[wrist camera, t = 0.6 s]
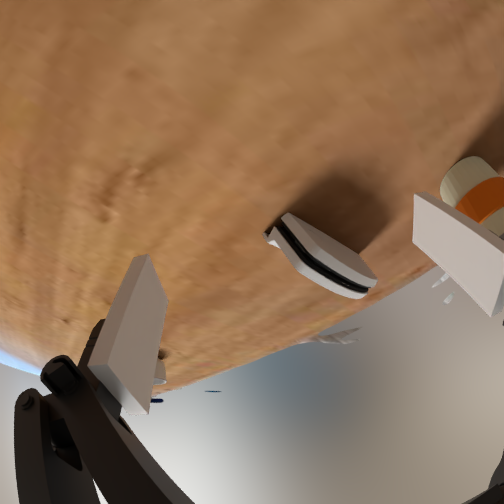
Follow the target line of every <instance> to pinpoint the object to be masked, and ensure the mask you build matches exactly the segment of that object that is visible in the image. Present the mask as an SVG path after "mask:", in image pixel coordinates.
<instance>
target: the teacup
mask: <svg viewBox="0 0 504 504" xmlns="http://www.w3.org/2000/svg"><path fill="white" fill-rule="evenodd" d="M166 382H167V381H166V371H165V365H164V363H163V362H162V361H161V360H160V359H159V358H158V357H157V363H156V369H155V375H154V381H153V385H160V384H164V383H166Z"/></svg>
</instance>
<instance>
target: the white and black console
mask: <svg viewBox="0 0 504 504" xmlns="http://www.w3.org/2000/svg"><path fill="white" fill-rule="evenodd" d="M281 219H282V220H283V221H282V225H283V226H284V227H285V228H286V229H284V228H282V227H280V226H278V228H276V227H274V228H273V230H272V231H271V233H270V235H269V234H267V233H265V232H264V233H263V234H262V235H263V237H264V239H265V240H266V242H267V243H270V244H272V245H274V246H276V247H278V248H280V249H281V250H282V251H283V253H284V254H285V255H286V257H287V258H288V259H289V261H290V262H291V264H292V265H293V266H294V268H295V269H296V270H297V271H299V272H300V273H301V274H303V275H304V276H306V277H307V278H309V279H311V280H312V281H314V282H316V283H317V284H319V285H321V286H323V287H325V288H327V289H329V290H331V291H333V292H335V293H337V294H340V295H342V296H345V297H349V298H354V299H360V298H362V297H364V296H365V295H366V294H368V292H367V291H368V288H371V287H374V286H375V284H376V283H377V281H378V278H377V277H376V276H375V274H374V273H373V272H372V270H371V269H370V268H369V267H368V265H367V264H366V263H365V262H364V260H363V259H362V258H361V257H360V255H359V254H357V253H356V252H354V251H352V250H351V249H349V248H348V247H346V246H344V245H343V244H341V243H339V242H338V241H336V240H335V239H333V238H331V237H330V236H328V235H326V234H325V233H323V232H321V231H320V230H318V229H316V228H314V227H313V226H311V225H309V224H308V223H306V222H304V221H303V220H301V219H299V218H297V217H296V216H294V215H292V214H291V213H289V212H288V213H286V214H285V215H284V216H283V217H281Z"/></svg>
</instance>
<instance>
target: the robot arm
mask: <svg viewBox="0 0 504 504" xmlns="http://www.w3.org/2000/svg"><path fill="white" fill-rule="evenodd" d="M412 242H413V243H414V244H415V245H416V246H418V247H419V248H420V249H421V250H422V251H423V252H424V253H426V254H427V255H428V256H429V257H430V258H431V259H432V260H433V261H434V262H435V263H437V264H438V265H439V266H440V267H441V268H442V269H443V270H444V271H445V272H446V273H447V274H448V275H449V276H450V277H451V278H453V280H455V281H456V282H457V283H458V284H459V285H460V286H461V287H462V288H463V289H464V290H465V291H466V292H467V293H468V294H469V295H470V296H471V297H472V299H473V300H474V301H475V302H476V303H477V304H478V305H479V306H480V307H481V308H482V309H483V310H484V311H485V312H486V313H487V314H488V315H489V316H490V317H492V316H494V315H496V314H498V313H499V312H501V311H502V309H503V306H504V240H503V239H502V238H501V237H498V235H496V234H495V233H493V232H492V231H491V230H488V229H486V228H485V227H483V226H482V225H480V224H479V223H477V222H476V221H474V220H473V219H471V218H469V217H468V216H466V215H465V214H463V213H461V212H460V211H458V210H457V209H455V208H453V207H452V206H450V205H448V204H447V203H445V202H443V201H441V200H440V199H438V198H436V197H434V196H433V195H431V194H429V193H427V192H420V193H415V194H414V221H413V241H412ZM167 306H168V298H167V296H166V294H165V292H164V289H163V287H162V285H161V283H160V280H159V278H158V276H157V273H156V271H155V268H154V266H153V264H152V261H151V259H150V256H149V254H145V255H141V256H138V257H134V258H133V260H132V262H131V265H130V267H129V269H128V271H127V273H126V275H125V277H124V279H123V281H122V283H121V286H120V288H119V290H118V292H117V294H116V297H115V299H114V301H113V303H112V306H111V308H110V310H109V312H108V315H107V317H106V319H101V320H100V321H99V322H98V323H97V325H96V326H95V327H94V328H93V330H92V332H91V334H90V337H89V340H88V341H87V344H86V348H85V349H84V351H83V354H82V356H81V358H80V361H79V364H78V366H76V365H75V364H74V362H73V361H72V360H71V359H70V358H69V356H66V355H60V356H57V357H55V358H53V359H51V360H50V361H49V362H48V363H47V364H46V365H45V366H44V368H43V369H42V372H41V375H40V376H41V381H42V383H43V384H44V385H45V386H46V387H47V388H48V389H49V390H50V391H51V392H52V394H49V395H46V396H42V395H41V394H40V393H39V392H38V391H37V390H36V389H34V388H30V389H27V390H25V391H24V392H22V393H21V395H19V397H18V399H17V401H16V404H15V412H14V451H15V452H14V453H15V469H16V480H17V489H18V497H19V503H20V504H100V501H99V498H98V495H97V491H96V488H95V485H94V481H95V483H96V484H97V486H98V488H99V490H100V491H101V493H102V495H103V496H104V498H105V499H106V501H107V502H108V504H195V503H194V502H192V500H191V499H190V498H189V497H188V496H187V495H186V494H185V493H184V492H183V491H182V490H181V489H180V488H179V487H178V486H177V485H176V484H175V483H174V481H173V480H172V479H171V478H170V477H169V476H168V475H167V474H166V473H165V471H164V470H163V469H162V468H161V467H160V466H159V464H158V463H157V462H156V461H155V460H154V458H153V457H152V456H151V455H150V453H149V452H148V451H147V450H146V448H145V447H144V446H143V445H142V443H141V442H140V441H139V440H138V438H137V437H136V435H135V434H134V433H133V431H132V430H131V429H130V427H129V426H128V424H127V423H126V421H125V420H124V419H123V418H122V417H121V416H120V412H121V408H122V407H123V408H124V409H125V410H126V411H127V412H128V413H129V414H130V415H144V414H149V408H150V401H151V394H152V387H153V381H154V375H155V369H156V363H157V357H158V352H159V346H160V341H161V336H162V330H163V325H164V320H165V315H166V311H167ZM503 326H504V321H503ZM93 479H94V481H93ZM463 504H504V451H503V456H502V459H501V461H500V463H499V465H498V467H497V468H496V470H495V472H494V474H493V476H492V478H491V481H490V484H489V488H488V489H487V490H486V491H484V492H483V493H481V494H479V495H477V496H476V497H474V498H472V499H470V500H468V501H466V502H464V503H463Z"/></svg>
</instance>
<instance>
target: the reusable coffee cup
mask: <svg viewBox="0 0 504 504" xmlns="http://www.w3.org/2000/svg"><path fill="white" fill-rule="evenodd" d="M440 194H441V197H442V199H443V201H444V202H445V203H447V204H448V205H450V206H452V207H453V208H455V209H457V210H458V211H460V212H461V213H463V214H465V215H466V216H468V217H469V218H471V219H473V220H474V221H476V222H477V223H479V224H480V225H482V226H483V227H485V228H486V229H488V230H491V231H492V232H493V233H495V234H496V235H498V237H501V238H502V239H503V240H504V178H503V177H500V176H499V175H498V174H497V173H496V172H495V171H494V170H493V169H492V168H491V167H490V166H489V165H488V164H487V163H486V162H485V161H484V160H483V159H482V158H480V157H477V156H472V157H467V158H464V159H462V160H461V161H459V162H457V163H456V164H455V165H454V166H453V167H452V168H451V169H450V170H449V171H448V172H447V173H446V175H445V176H444V178H443V180H442V183H441V186H440Z"/></svg>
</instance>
